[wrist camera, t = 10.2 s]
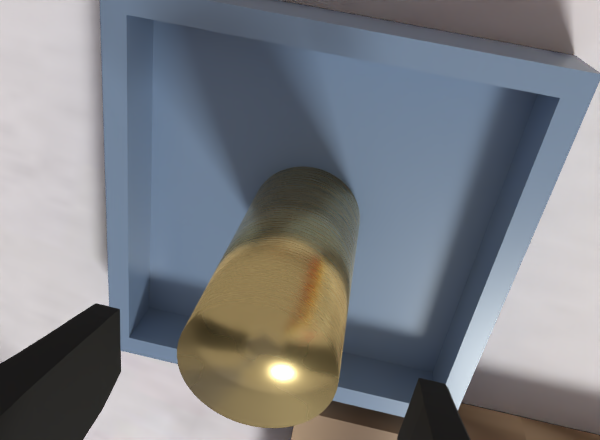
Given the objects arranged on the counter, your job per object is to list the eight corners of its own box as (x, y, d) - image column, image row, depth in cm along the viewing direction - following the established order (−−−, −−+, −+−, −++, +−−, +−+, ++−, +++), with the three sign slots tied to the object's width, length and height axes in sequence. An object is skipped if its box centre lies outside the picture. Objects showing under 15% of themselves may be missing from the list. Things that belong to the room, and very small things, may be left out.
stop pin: (252, 254, 21) (180, 413, 14) (254, 160, 19) (172, 290, 12) (353, 268, 21) (330, 439, 14) (366, 173, 19) (346, 316, 12)
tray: (136, 310, 24) (110, 348, 22) (136, -27, 17) (99, -21, 15) (445, 381, 23) (450, 428, 21) (575, 55, 16) (602, 74, 14)
